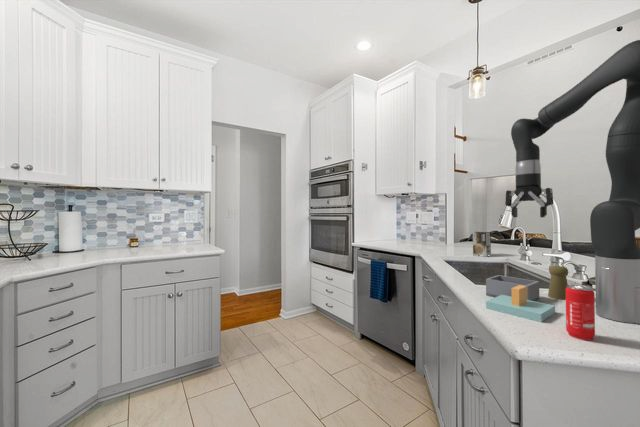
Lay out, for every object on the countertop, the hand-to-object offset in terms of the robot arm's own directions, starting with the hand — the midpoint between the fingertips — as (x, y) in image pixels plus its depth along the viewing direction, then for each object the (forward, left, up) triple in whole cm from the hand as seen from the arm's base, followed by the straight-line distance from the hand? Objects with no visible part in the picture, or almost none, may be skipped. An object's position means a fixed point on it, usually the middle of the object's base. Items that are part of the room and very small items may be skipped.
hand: (528, 217), depth 104 cm
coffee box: (+52, -75, -28) cm, 96 cm away
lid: (-5, +23, -28) cm, 37 cm away
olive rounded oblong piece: (-8, -2, -28) cm, 30 cm away
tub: (+2, +10, -28) cm, 30 cm away
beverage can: (-21, +32, -28) cm, 48 cm away
